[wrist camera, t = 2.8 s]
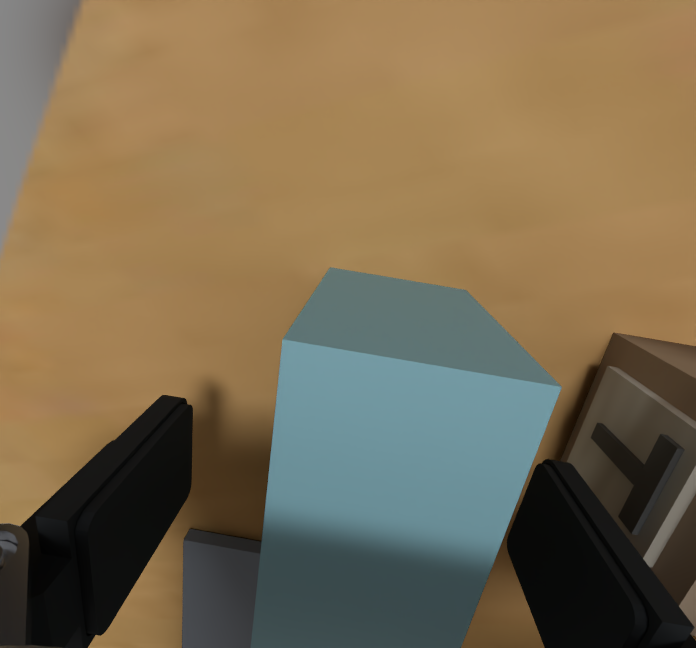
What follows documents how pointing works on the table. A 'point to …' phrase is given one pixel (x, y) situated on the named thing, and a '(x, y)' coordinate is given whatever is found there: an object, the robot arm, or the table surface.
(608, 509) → the wooden letter block
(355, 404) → the teal rectangular block
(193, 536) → the dark gray block
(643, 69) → the table surface
